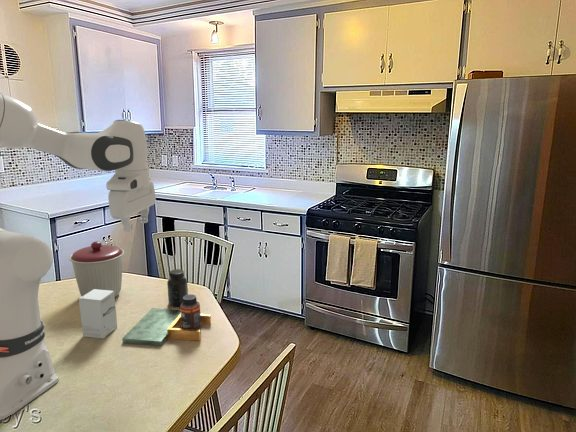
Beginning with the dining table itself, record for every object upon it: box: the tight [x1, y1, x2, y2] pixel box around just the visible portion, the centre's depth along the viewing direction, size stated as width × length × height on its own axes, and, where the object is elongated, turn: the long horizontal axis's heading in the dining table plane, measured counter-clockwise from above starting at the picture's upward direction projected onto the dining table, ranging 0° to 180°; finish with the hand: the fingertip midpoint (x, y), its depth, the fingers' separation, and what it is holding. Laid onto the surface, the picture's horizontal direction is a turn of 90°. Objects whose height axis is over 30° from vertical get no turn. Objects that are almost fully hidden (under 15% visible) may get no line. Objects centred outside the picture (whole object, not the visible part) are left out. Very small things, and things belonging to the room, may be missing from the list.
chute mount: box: [121, 307, 212, 347], centre depth 132 cm, size 20×22×3 cm
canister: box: [68, 240, 125, 298], centre depth 153 cm, size 18×18×21 cm
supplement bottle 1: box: [166, 268, 189, 308], centre depth 149 cm, size 7×7×12 cm
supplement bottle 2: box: [179, 293, 202, 331], centre depth 131 cm, size 6×6×11 cm
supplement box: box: [78, 289, 118, 340], centre depth 129 cm, size 7×7×13 cm
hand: (136, 226), depth 121 cm, fingers open, 8 cm apart
